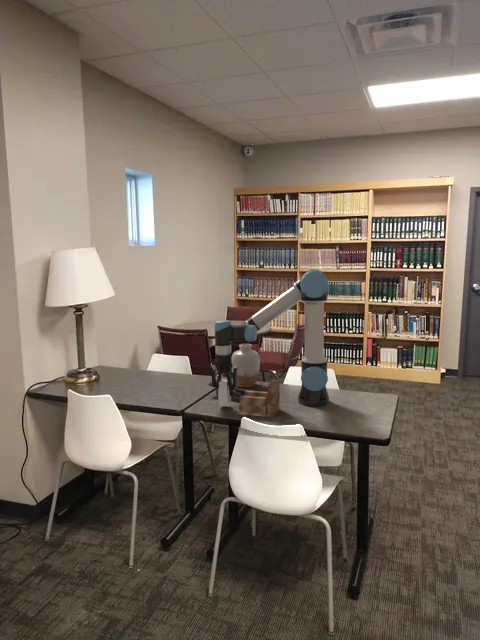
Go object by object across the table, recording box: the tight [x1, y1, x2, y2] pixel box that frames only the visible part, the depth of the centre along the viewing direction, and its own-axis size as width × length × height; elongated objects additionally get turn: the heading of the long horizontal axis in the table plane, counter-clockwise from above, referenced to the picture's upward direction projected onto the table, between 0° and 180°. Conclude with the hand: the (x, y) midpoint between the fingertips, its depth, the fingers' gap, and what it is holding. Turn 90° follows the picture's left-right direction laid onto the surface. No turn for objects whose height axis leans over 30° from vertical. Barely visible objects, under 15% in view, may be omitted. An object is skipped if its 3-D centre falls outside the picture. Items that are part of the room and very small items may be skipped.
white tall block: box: [218, 378, 231, 408], centre depth 225 cm, size 4×4×12 cm
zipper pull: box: [207, 380, 251, 403], centre depth 240 cm, size 9×7×25 cm
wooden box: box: [237, 379, 281, 418], centre depth 218 cm, size 17×12×14 cm
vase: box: [231, 343, 261, 389], centre depth 261 cm, size 16×16×23 cm
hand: (224, 401), depth 226 cm, fingers closed on white tall block, 4 cm apart
